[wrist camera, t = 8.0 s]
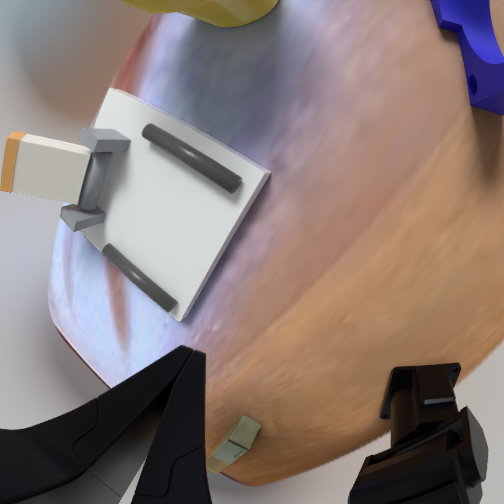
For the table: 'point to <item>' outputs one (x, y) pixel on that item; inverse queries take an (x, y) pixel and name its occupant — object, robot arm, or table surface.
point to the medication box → (233, 444)
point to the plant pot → (211, 9)
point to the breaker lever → (53, 170)
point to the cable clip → (476, 49)
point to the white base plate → (164, 199)
